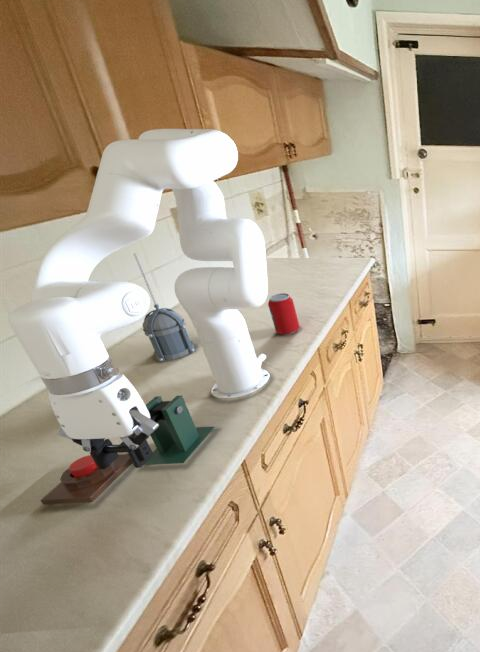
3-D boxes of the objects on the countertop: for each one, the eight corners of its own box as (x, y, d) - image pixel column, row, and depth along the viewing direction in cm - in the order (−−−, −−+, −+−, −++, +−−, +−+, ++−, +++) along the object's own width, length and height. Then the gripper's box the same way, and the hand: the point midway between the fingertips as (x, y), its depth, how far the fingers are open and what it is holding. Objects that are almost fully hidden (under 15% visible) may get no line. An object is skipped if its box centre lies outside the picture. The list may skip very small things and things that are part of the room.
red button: (85, 462, 73) (81, 455, 73) (106, 461, 74) (102, 454, 73) (67, 478, 70) (62, 471, 69) (88, 477, 70) (84, 470, 70)
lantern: (206, 342, 120) (170, 246, 107) (181, 362, 110) (138, 259, 97) (170, 342, 119) (130, 246, 107) (141, 362, 110) (93, 259, 97)
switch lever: (136, 455, 68) (131, 445, 67) (105, 457, 68) (100, 446, 67) (184, 410, 79) (180, 400, 78) (158, 411, 79) (153, 401, 78)
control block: (96, 463, 78) (87, 448, 76) (139, 461, 78) (131, 446, 77) (46, 509, 69) (34, 492, 67) (95, 506, 69) (85, 490, 68)
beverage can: (285, 325, 130) (276, 291, 125) (304, 326, 129) (296, 293, 124) (271, 335, 124) (261, 300, 119) (291, 336, 123) (281, 302, 118)
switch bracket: (186, 467, 77) (163, 419, 72) (142, 469, 77) (117, 421, 72) (216, 430, 86) (199, 386, 81) (178, 432, 86) (157, 387, 81)
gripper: (157, 360, 66) (192, 444, 73) (46, 364, 64) (94, 448, 72) (119, 387, 59) (163, 477, 66) (-6, 392, 58) (53, 482, 65)
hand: (126, 461), depth 69 cm, fingers closed on switch lever, 5 cm apart
